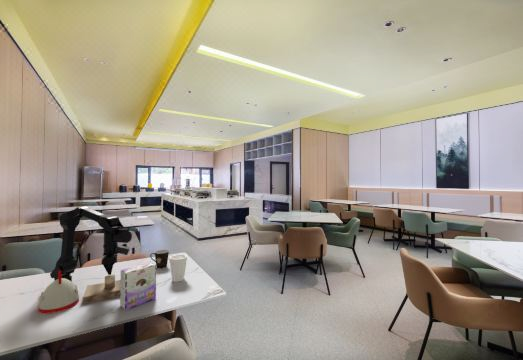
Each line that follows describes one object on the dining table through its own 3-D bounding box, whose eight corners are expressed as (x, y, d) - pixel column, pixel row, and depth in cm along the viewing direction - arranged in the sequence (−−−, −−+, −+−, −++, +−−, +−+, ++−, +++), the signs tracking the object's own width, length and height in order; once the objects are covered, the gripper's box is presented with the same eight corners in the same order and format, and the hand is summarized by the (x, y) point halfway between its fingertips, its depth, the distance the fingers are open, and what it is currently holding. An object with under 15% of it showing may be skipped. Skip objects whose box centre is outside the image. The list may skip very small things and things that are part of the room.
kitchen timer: (77, 295, 117) (78, 264, 117) (80, 306, 107) (80, 272, 107) (39, 304, 108) (39, 271, 108) (37, 317, 98) (38, 280, 98)
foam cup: (165, 282, 133) (165, 258, 133) (175, 275, 142) (175, 253, 142) (180, 283, 130) (181, 260, 131) (189, 277, 139) (189, 255, 140)
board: (83, 303, 108) (83, 297, 109) (87, 291, 121) (87, 285, 121) (123, 295, 117) (123, 289, 117) (123, 284, 129) (123, 279, 129)
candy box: (150, 295, 117) (150, 261, 117) (156, 298, 113) (156, 264, 114) (119, 306, 107) (120, 269, 107) (125, 310, 103) (125, 272, 103)
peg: (114, 293, 119) (115, 276, 119) (104, 295, 117) (104, 278, 117) (115, 289, 123) (115, 273, 123) (104, 291, 120) (104, 275, 121)
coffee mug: (171, 266, 158) (171, 251, 158) (159, 270, 151) (160, 254, 151) (160, 262, 164) (160, 248, 164) (148, 266, 157) (149, 251, 157)
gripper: (129, 243, 116) (128, 276, 116) (128, 236, 132) (128, 264, 132) (101, 246, 110) (101, 280, 110) (104, 238, 126) (104, 268, 126)
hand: (110, 272), depth 120 cm, fingers open, 6 cm apart
